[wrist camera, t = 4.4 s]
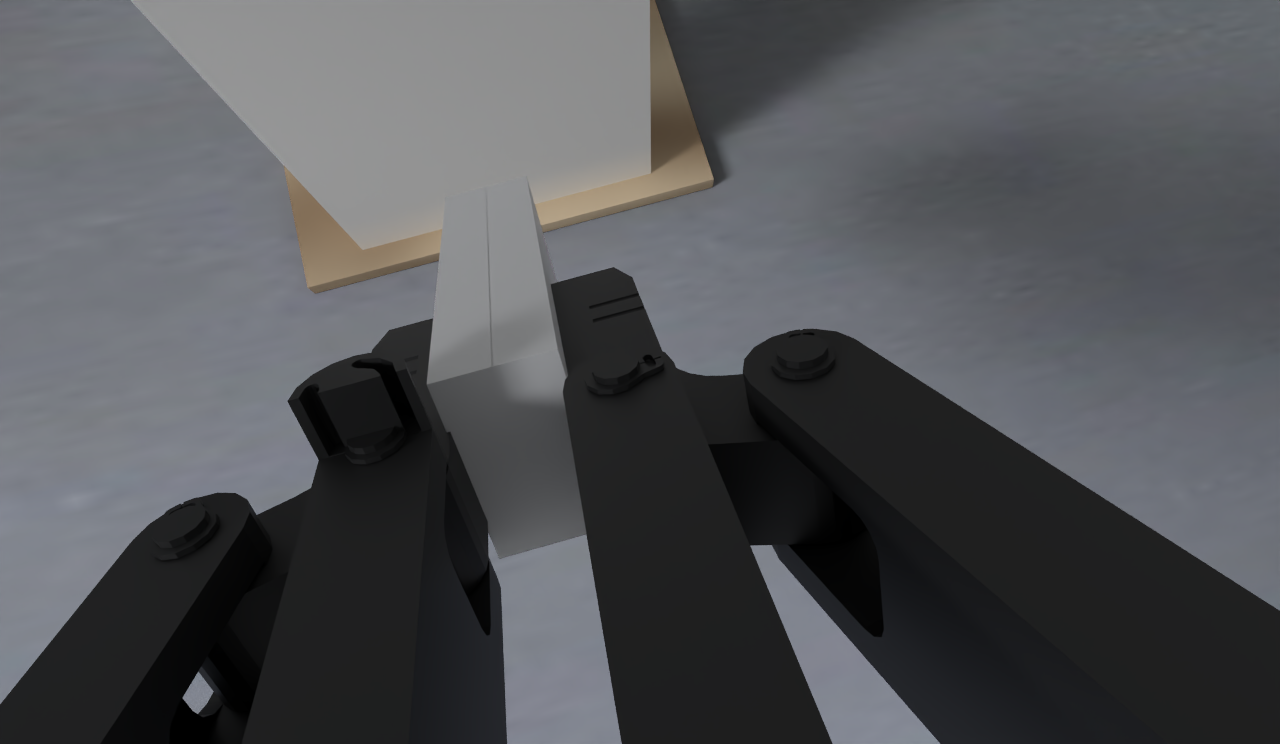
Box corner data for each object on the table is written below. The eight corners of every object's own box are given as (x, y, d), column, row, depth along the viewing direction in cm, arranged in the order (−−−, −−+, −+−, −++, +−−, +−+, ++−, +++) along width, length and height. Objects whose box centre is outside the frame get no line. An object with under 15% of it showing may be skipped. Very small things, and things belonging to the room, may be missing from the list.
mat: (712, 187, 28) (713, 178, 28) (315, 293, 28) (307, 287, 27) (580, -218, 32) (578, -232, 32) (230, -133, 32) (222, -146, 31)
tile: (650, 173, 28) (648, -203, 14) (362, 250, 27) (72, -62, 14) (630, 108, 28) (609, -312, 15) (348, 182, 28) (56, -182, 14)
